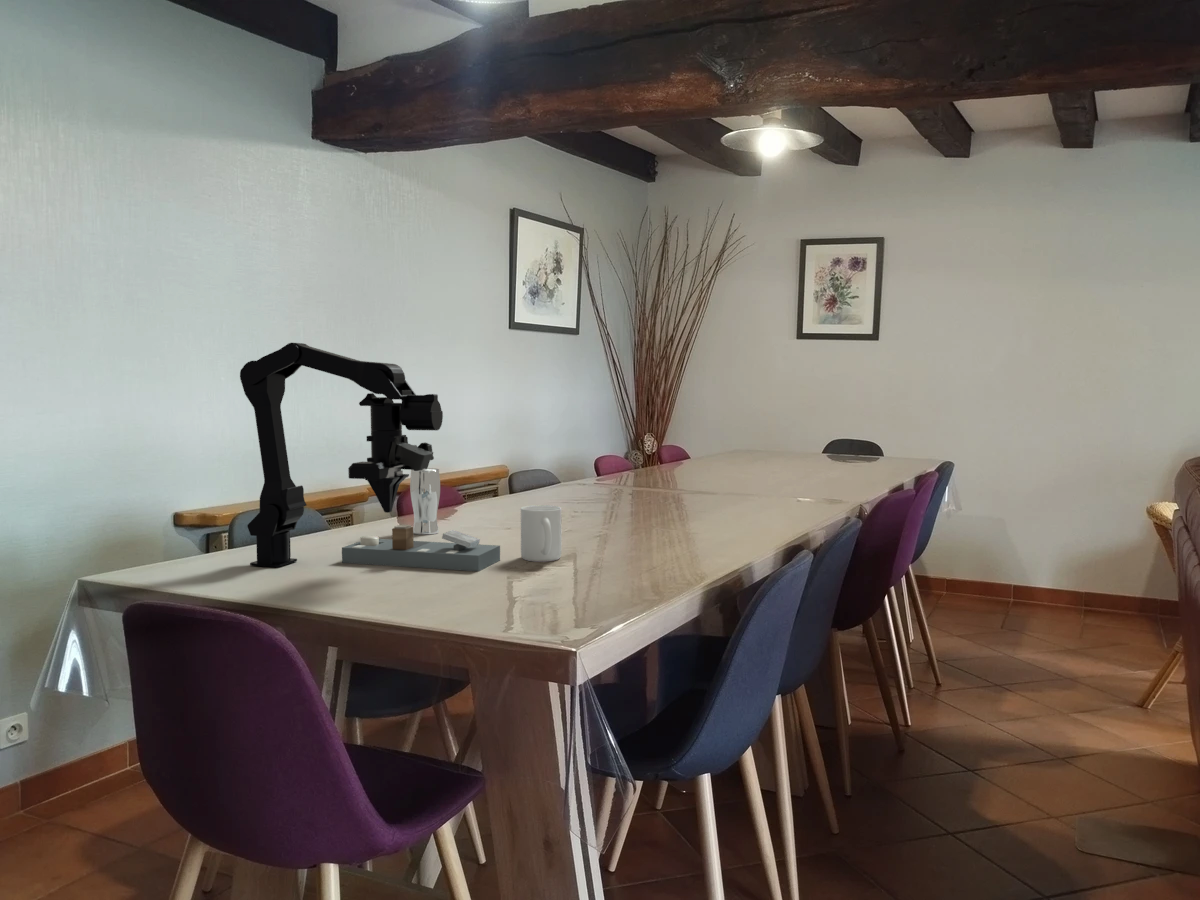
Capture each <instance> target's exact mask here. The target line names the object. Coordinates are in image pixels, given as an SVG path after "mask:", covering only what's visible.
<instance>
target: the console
mask: <svg viewBox="0 0 1200 900" xmlns="http://www.w3.org/2000/svg"><path fill="white" fill-rule="evenodd" d="M413 543H414V547H413V548H410V549H407V550H401V549H392V538H391V539H388V538H379V544H378V545H376V546H366V545H360V541H358V542H355V543H352V544H348V545H346V546H343V547H341V563H343V564H357V565H359V564H360V565H376V566H377V565H378V566H390V567H402V568H403V567H405V568H406V567H407V568H419V569H420V568H424V569H434V570H437V569H439V570H452V571H454V570H455V571H465V572H466V571H467V572H470V571H471V572H480V571H482V570H485V569H486V568H488V567H490V566H492V565H494V564H495V563H498V562H500V561H501V545H496V544H480V543H479V544H477V545H475V546H473V547H470V548H468V547H465V546H463V545H460V544H457V543H454V542H442V541H423V540H413Z"/></svg>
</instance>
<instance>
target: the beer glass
mask: <svg viewBox="0 0 1200 900" xmlns="http://www.w3.org/2000/svg"><path fill="white" fill-rule="evenodd" d="M409 489H410V500H411V506H412V510H413V526H412V527H413V535H419V536H422V535H423V536H428V535H429V536H430V535H435V534H439V531H440V530H439V529H440V528H439V525H438V509H439V503H440V496H441V477H440V469H439V468H433V467H432V468H430V467H428V468H427V469H423V470H420V471H414V470H410V482H409Z"/></svg>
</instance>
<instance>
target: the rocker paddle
mask: <svg viewBox="0 0 1200 900" xmlns="http://www.w3.org/2000/svg"><path fill="white" fill-rule="evenodd" d="M441 539H443V540H445V541H448V542H450V543H457V544H460V545H463V546H465V547H468V548H470V547H473V546H475V545H477V544H480V540H481V538H478V537H475V536H472V535H469V534H466V533H463V532H460V531H457V530H454V529H450V530H449V531H446V532H444V533H442V536H441Z"/></svg>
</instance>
